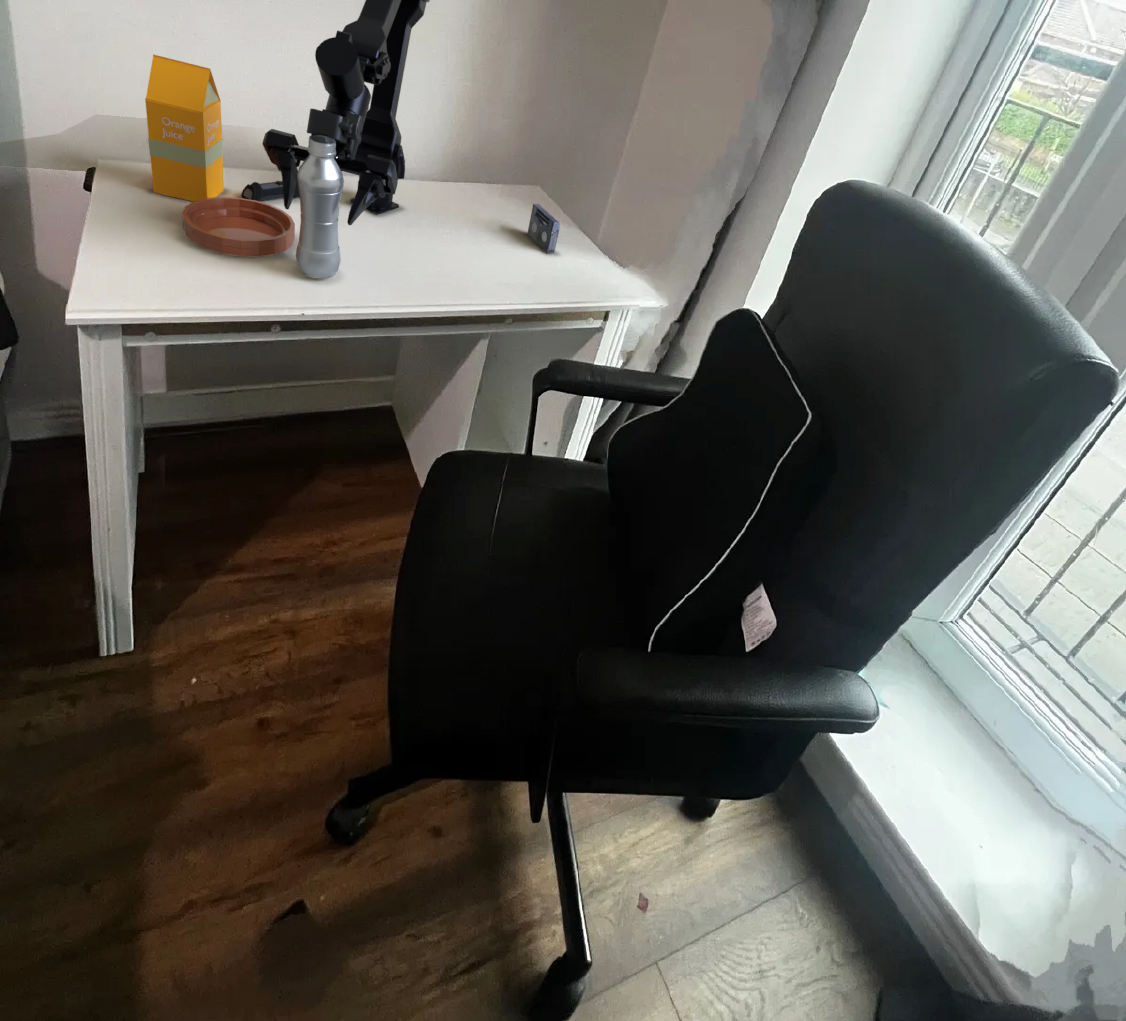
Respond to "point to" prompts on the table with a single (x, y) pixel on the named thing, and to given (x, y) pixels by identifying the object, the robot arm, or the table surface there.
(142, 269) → the table surface
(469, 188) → the table surface
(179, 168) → the orange juice
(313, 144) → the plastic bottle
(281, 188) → the electric trimmer
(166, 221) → the table surface
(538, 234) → the mini dv tape
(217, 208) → the bowl
